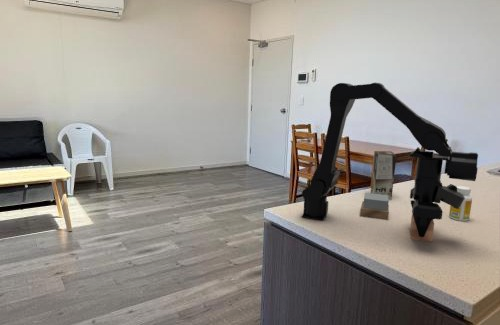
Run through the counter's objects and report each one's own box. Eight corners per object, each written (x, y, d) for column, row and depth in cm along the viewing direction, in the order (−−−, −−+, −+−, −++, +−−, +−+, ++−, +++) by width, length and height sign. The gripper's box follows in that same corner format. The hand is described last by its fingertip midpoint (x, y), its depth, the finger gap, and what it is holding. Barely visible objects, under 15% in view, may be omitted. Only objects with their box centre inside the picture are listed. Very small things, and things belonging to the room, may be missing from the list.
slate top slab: (363, 207, 108) (364, 198, 108) (364, 201, 115) (364, 192, 114) (387, 211, 106) (388, 201, 106) (387, 204, 113) (388, 195, 112)
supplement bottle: (466, 216, 110) (471, 186, 108) (471, 222, 105) (475, 190, 103) (447, 214, 112) (451, 184, 110) (450, 219, 107) (455, 188, 105)
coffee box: (392, 200, 125) (397, 155, 122) (373, 198, 127) (377, 154, 124) (387, 193, 134) (392, 151, 131) (370, 191, 135) (373, 150, 132)
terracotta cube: (410, 238, 92) (412, 220, 91) (409, 231, 97) (411, 214, 96) (431, 242, 91) (434, 223, 90) (430, 235, 95) (432, 217, 94)
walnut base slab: (359, 217, 109) (360, 208, 108) (361, 209, 116) (362, 201, 115) (387, 221, 106) (388, 212, 105) (387, 213, 113) (388, 204, 112)
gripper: (471, 188, 79) (461, 253, 82) (458, 171, 96) (450, 225, 99) (416, 182, 83) (409, 244, 86) (413, 167, 100) (407, 219, 103)
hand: (420, 233), depth 93 cm, fingers closed on terracotta cube, 5 cm apart
